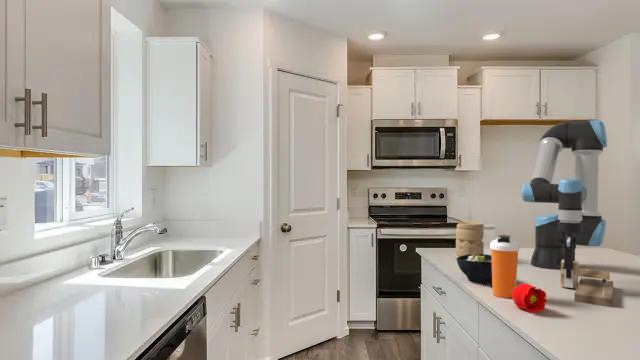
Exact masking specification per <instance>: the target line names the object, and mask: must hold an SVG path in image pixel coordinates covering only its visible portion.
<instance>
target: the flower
mask: <svg viewBox="0 0 640 360" xmlns="http://www.w3.org/2000/svg"><path fill="white" fill-rule="evenodd" d="M512 297H513V298H512V299H513V302H514V305H515V306H516V307H517V308H519V309H522V310H527V311H528V312H529V313H530V314H534V313H536V314H537V313H539V312H540V311H544V310H545V307H546V303H547V302H548V300H547V298H546V297H547V293H546V292H545V291H544V290H543V289H542V288H537V286H534V285H532V284H528V283H519V284H518V285H516V288H515V289H513V291H512Z"/></svg>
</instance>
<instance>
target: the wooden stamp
mask: <svg viewBox="0 0 640 360" xmlns="http://www.w3.org/2000/svg"><path fill="white" fill-rule="evenodd" d="M562 267H564V260H562V261H561V269H560V287H561V288H565V287H564V270H565V269H562ZM610 273H611V271H606V270H598V269H591V268H590V269H589V268H580V267H579V261H578V260H575V261H573V288H572V289H575V290H576V289H577V286H578V284H579V277H580V278H589V279H598V280H603V283H606V281H611V280H610V279H611V278H610ZM566 288H569V289H570V287H566Z"/></svg>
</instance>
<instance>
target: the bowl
mask: <svg viewBox="0 0 640 360" xmlns="http://www.w3.org/2000/svg"><path fill="white" fill-rule="evenodd" d="M491 259H492V258H491V254H468V255H463V256H460V257H458V258H457V260H456V263H457V265H458V268H459V269H460V271H461V272H462V273H463V274H464V275H465V276H466V278H467V280H468V281H469V282H472V283H474V284H475V283H476V284H490V283H492V262H491Z"/></svg>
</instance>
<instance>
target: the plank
mask: <svg viewBox="0 0 640 360" xmlns="http://www.w3.org/2000/svg"><path fill="white" fill-rule="evenodd" d="M573 300H574V302H575V301H576V302H577V303H581V302H582V303H583V304H589V305H597V306H603V307H608V308H609V307H610V308H612V307H613V303H614V302H613V301H614V281H613V280H606V283H603V279H598V278H590V277H580V279H579V280H578V286H577V289H575V291H574V299H573Z"/></svg>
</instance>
